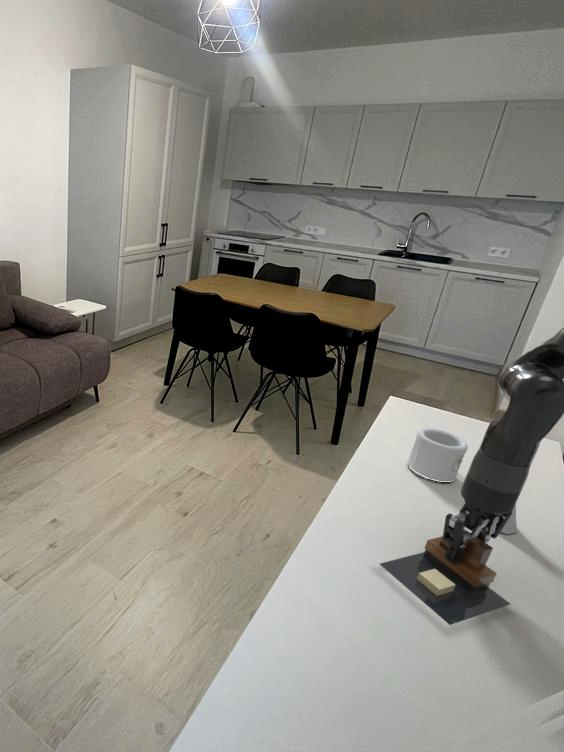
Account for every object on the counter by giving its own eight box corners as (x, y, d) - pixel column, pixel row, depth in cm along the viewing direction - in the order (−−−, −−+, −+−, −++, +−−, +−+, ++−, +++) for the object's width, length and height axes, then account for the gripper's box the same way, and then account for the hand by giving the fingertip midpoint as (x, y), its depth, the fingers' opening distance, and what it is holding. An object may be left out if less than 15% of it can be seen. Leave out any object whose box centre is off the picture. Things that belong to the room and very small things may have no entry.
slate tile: (435, 552, 97) (436, 548, 96) (509, 608, 85) (511, 603, 84) (377, 567, 92) (379, 563, 91) (447, 629, 79) (449, 624, 79)
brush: (438, 550, 96) (452, 516, 93) (489, 588, 87) (506, 552, 84) (421, 554, 94) (435, 520, 91) (472, 594, 86) (488, 557, 83)
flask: (471, 521, 107) (488, 482, 104) (481, 509, 112) (497, 471, 108) (511, 539, 102) (530, 499, 99) (520, 526, 107) (538, 487, 103)
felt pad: (432, 574, 89) (435, 568, 89) (453, 591, 86) (456, 584, 85) (416, 579, 88) (419, 572, 88) (436, 596, 85) (439, 589, 84)
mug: (444, 489, 119) (458, 452, 115) (398, 467, 127) (410, 433, 123) (466, 473, 126) (480, 439, 123) (422, 454, 134) (434, 421, 131)
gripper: (488, 497, 78) (452, 581, 84) (546, 485, 82) (508, 565, 89) (444, 471, 84) (414, 551, 90) (500, 461, 89) (468, 538, 95)
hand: (461, 558), depth 90 cm, fingers closed on brush, 4 cm apart
